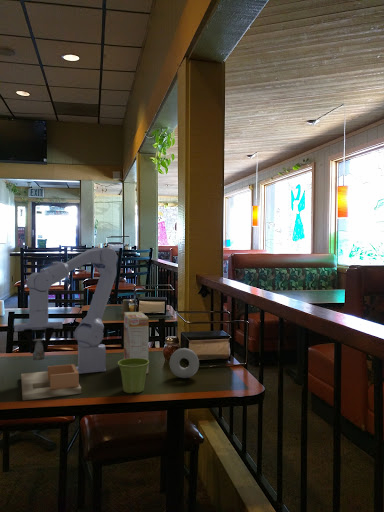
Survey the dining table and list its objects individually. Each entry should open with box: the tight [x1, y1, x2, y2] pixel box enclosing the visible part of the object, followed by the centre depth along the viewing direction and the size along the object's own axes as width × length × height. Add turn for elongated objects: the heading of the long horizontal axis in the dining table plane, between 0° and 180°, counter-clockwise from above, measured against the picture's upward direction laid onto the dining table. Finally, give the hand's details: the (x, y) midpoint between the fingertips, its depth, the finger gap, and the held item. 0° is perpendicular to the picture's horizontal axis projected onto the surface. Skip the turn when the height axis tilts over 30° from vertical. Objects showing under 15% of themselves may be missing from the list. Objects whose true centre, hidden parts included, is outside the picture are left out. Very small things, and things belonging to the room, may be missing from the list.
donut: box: [169, 347, 200, 379], centre depth 138 cm, size 10×4×10 cm, turn 85°
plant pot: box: [117, 358, 150, 394], centre depth 125 cm, size 9×9×9 cm
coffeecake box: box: [123, 311, 150, 375], centre depth 149 cm, size 15×7×20 cm, turn 16°
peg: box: [32, 338, 46, 361], centre depth 133 cm, size 4×4×6 cm
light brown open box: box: [47, 363, 80, 390], centre depth 127 cm, size 8×11×4 cm
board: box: [20, 370, 82, 401], centre depth 129 cm, size 16×22×2 cm
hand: (38, 352), depth 133 cm, fingers closed on peg, 4 cm apart
